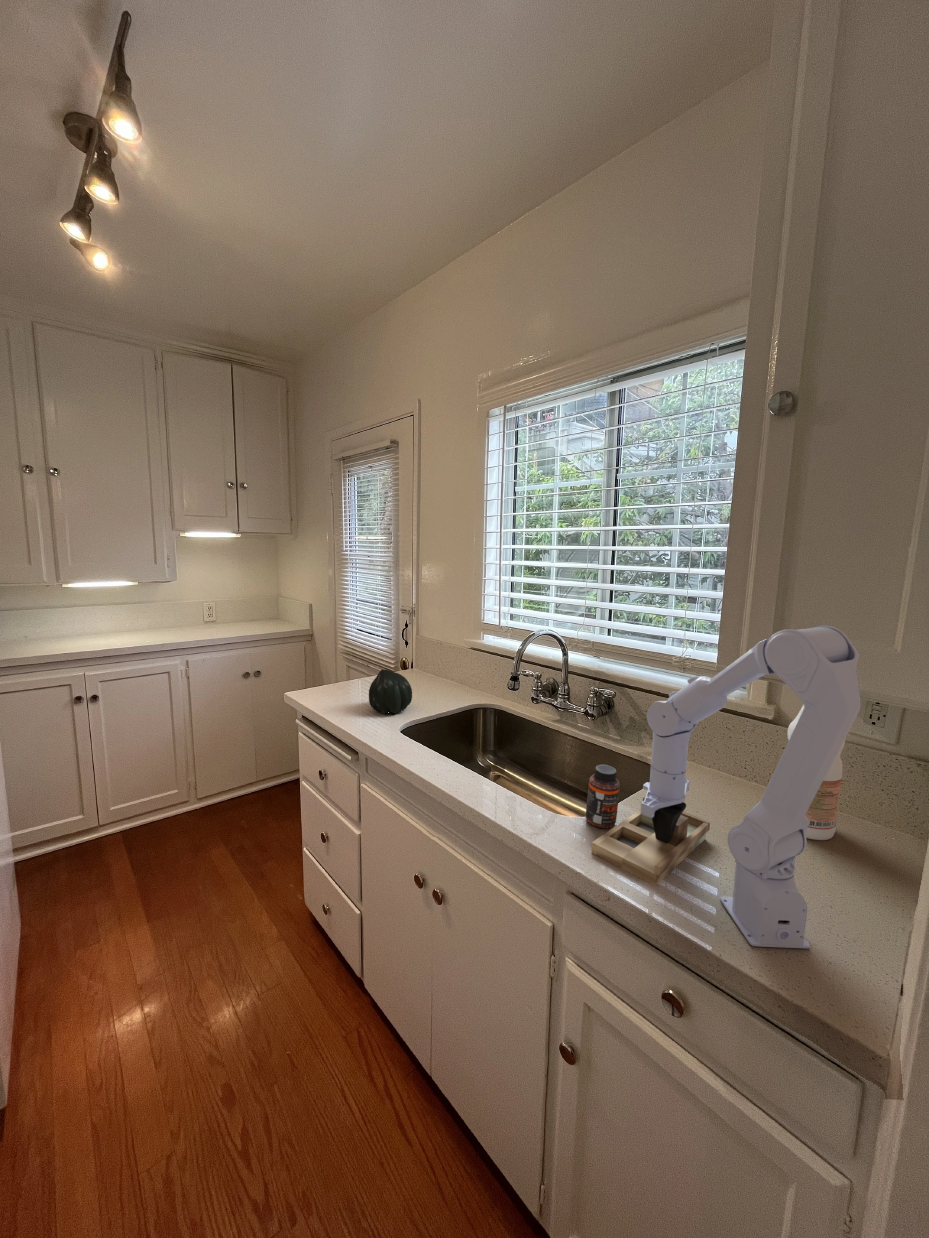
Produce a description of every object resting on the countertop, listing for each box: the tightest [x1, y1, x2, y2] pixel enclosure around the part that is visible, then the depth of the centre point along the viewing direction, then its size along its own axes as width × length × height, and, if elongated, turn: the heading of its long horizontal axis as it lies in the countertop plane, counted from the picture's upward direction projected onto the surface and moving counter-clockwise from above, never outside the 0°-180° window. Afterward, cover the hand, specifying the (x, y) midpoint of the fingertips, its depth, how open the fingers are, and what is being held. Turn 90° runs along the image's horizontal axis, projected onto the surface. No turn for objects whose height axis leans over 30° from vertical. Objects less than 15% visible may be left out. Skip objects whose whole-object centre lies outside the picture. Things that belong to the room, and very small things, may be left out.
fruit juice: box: [787, 703, 846, 841], centre depth 96 cm, size 9×9×28 cm
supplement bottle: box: [585, 764, 621, 829], centre depth 98 cm, size 6×6×11 cm
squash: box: [368, 668, 413, 714], centre depth 166 cm, size 14×15×15 cm
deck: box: [591, 796, 711, 887], centre depth 91 cm, size 20×13×4 cm, turn 133°
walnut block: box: [655, 815, 688, 846], centre depth 90 cm, size 4×4×4 cm
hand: (663, 840), depth 88 cm, fingers closed
